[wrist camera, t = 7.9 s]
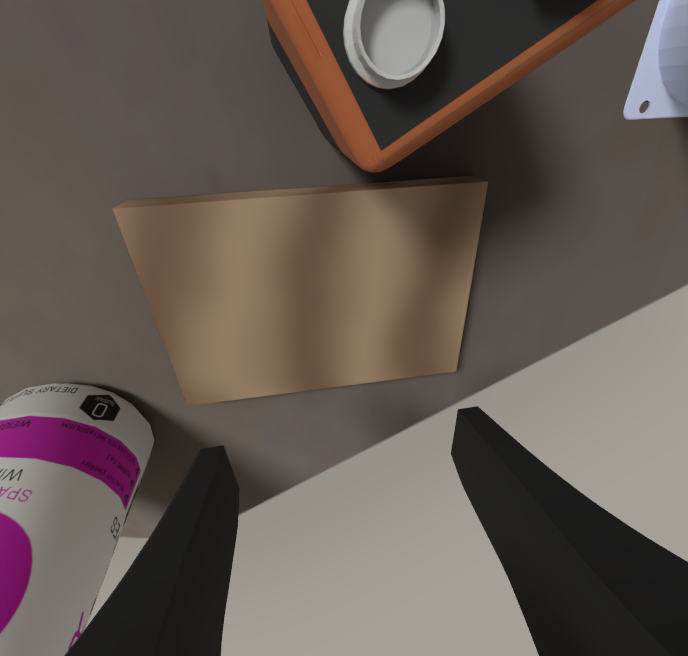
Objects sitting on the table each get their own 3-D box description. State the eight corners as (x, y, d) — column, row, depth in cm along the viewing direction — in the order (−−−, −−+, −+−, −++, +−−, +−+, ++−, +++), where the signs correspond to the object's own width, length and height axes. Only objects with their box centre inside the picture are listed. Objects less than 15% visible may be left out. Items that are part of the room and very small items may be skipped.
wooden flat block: (473, 175, 17) (488, 181, 16) (446, 356, 23) (456, 371, 22) (126, 200, 16) (112, 208, 14) (193, 388, 22) (187, 405, 20)
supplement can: (-12, 367, 19) (-590, 888, 6) (157, 383, 21) (-27, 798, 8) (18, 466, 23) (-303, 907, 10) (158, 471, 25) (32, 843, 12)
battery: (468, 45, 14) (722, -34, 6) (328, 145, 16) (380, 195, 7) (424, -94, 12) (734, -520, 4) (265, 36, 13) (236, -74, 5)
